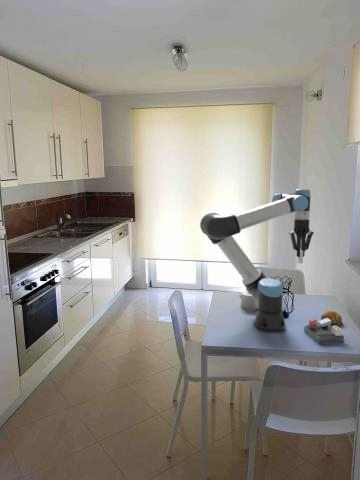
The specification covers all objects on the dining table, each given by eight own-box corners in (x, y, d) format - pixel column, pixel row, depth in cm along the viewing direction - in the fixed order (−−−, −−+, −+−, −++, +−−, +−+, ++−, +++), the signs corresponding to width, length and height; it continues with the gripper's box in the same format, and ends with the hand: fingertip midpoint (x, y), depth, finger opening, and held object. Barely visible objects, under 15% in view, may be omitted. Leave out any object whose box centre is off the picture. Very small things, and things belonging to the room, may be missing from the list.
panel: (318, 344, 169) (319, 336, 169) (304, 331, 183) (304, 324, 182) (343, 342, 171) (344, 334, 170) (327, 329, 185) (327, 322, 184)
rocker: (322, 327, 179) (321, 324, 179) (318, 324, 183) (317, 321, 182) (331, 323, 180) (331, 320, 179) (327, 320, 183) (327, 317, 183)
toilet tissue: (243, 301, 226) (243, 288, 225) (261, 307, 216) (261, 293, 215) (233, 305, 221) (233, 291, 219) (250, 311, 211) (250, 296, 209)
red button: (311, 326, 178) (311, 321, 178) (307, 323, 182) (307, 318, 181) (318, 326, 179) (318, 321, 178) (314, 323, 182) (314, 318, 182)
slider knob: (336, 335, 170) (336, 328, 170) (331, 332, 174) (332, 325, 173) (340, 335, 171) (341, 328, 170) (336, 332, 174) (336, 324, 173)
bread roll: (341, 329, 194) (343, 313, 196) (339, 327, 186) (341, 311, 187) (321, 325, 199) (323, 310, 201) (318, 323, 191) (320, 307, 192)
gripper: (293, 220, 193) (291, 265, 197) (317, 219, 195) (315, 263, 199) (287, 218, 200) (285, 261, 204) (310, 217, 202) (308, 260, 206)
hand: (300, 262), depth 202 cm, fingers closed
